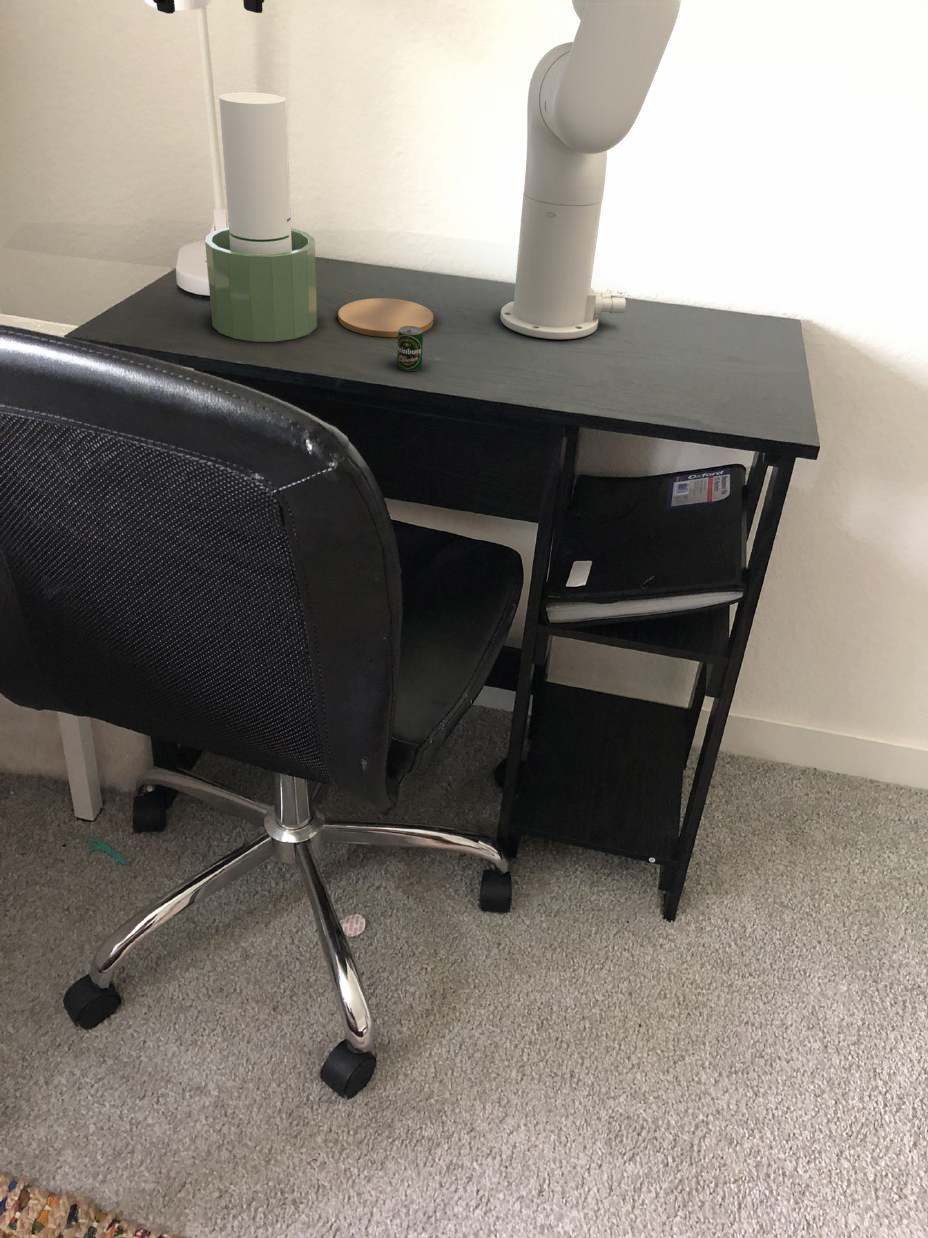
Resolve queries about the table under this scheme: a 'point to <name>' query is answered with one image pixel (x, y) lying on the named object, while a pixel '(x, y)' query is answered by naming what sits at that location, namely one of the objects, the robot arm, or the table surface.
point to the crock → (262, 289)
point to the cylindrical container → (256, 172)
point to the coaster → (384, 316)
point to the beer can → (410, 348)
